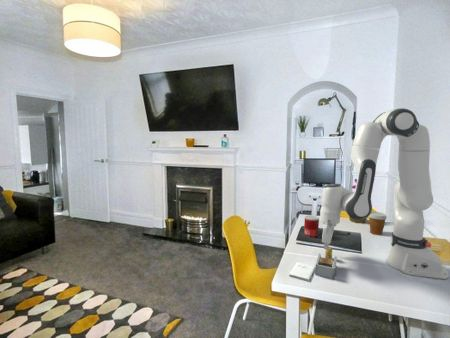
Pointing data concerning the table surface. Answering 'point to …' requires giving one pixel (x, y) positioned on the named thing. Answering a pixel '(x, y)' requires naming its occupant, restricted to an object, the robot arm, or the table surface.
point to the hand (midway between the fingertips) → (327, 245)
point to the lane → (325, 269)
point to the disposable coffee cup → (377, 222)
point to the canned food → (311, 226)
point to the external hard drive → (302, 271)
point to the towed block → (327, 258)
